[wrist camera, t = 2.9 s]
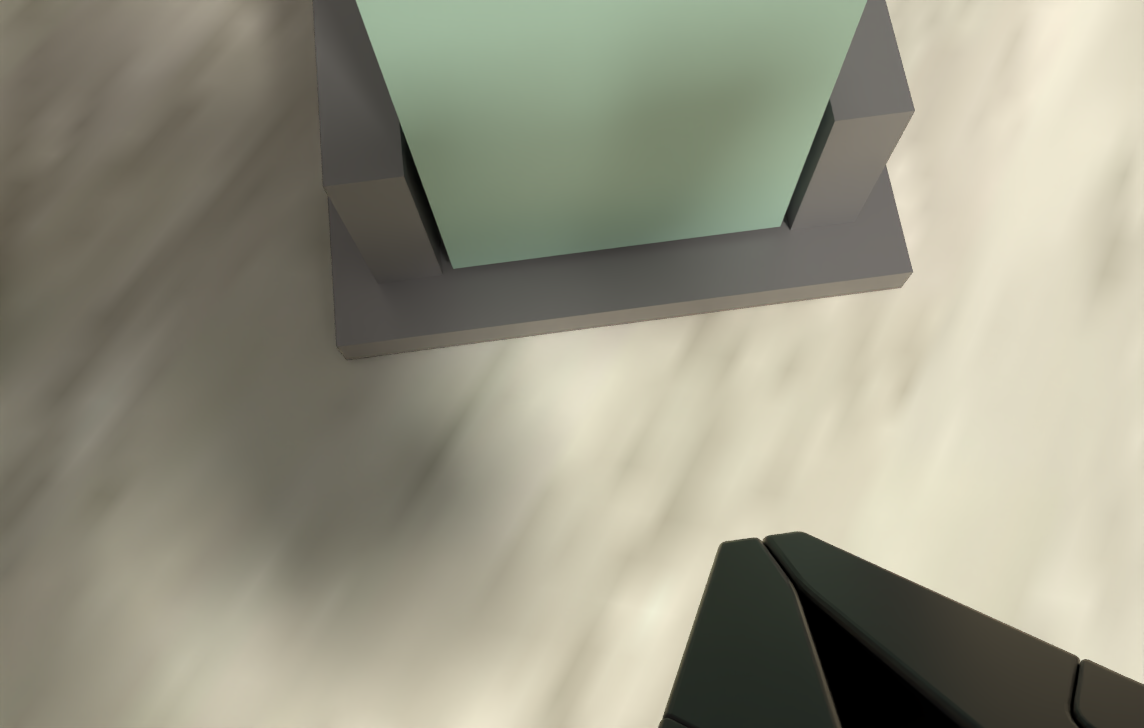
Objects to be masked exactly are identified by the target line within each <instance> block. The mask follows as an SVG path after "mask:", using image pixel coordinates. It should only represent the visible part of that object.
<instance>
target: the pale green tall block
mask: <svg viewBox="0 0 1144 728" xmlns="http://www.w3.org/2000/svg"><path fill="white" fill-rule="evenodd" d="M866 2H867V0H356V3H357V6H358V8H359V11H360V14H361V17H362V19H363V22H364V25H365V28H366V30H367V33H368V36H369V39H370V41H371V44H372V47H373V50H374V52H375V55H376V58H377V61H378V63H379V66H380V69H381V72H382V74H383V77H384V80H385V83H386V85H387V88H388V91H389V94H390V96H391V99H392V102H393V105H394V107H395V110H396V113H397V116H398V118H399V121H400V124H401V127H402V129H403V132H404V135H405V138H406V140H407V143H408V146H409V149H410V151H411V154H412V157H413V160H414V162H415V165H416V168H417V171H418V173H419V176H420V179H421V182H422V184H423V187H424V190H425V193H426V195H427V198H428V201H429V204H430V206H431V209H432V212H433V215H434V217H435V220H436V223H437V226H438V228H439V231H440V234H441V237H442V239H443V242H444V245H445V248H446V250H447V253H448V256H449V259H450V261H451V264H452V267H453V269H456V268H464V267H471V266H479V265H487V264H495V263H502V262H510V261H518V260H525V259H533V258H541V257H549V256H556V255H564V254H572V253H580V252H587V251H595V250H603V249H610V248H618V247H626V246H634V245H641V244H649V243H657V242H665V241H672V240H680V239H688V238H695V237H703V236H711V235H719V234H726V233H734V232H742V231H750V230H757V229H765V228H773V227H780V226H781V223H782V221H783V218H784V215H785V213H786V210H787V208H788V205H789V202H790V200H791V197H792V195H793V192H794V189H795V187H796V184H797V182H798V179H799V176H800V174H801V171H802V169H803V166H804V163H805V161H806V158H807V156H808V153H809V150H810V148H811V145H812V143H813V140H814V137H815V135H816V132H817V130H818V127H819V124H820V122H821V119H822V117H823V114H824V111H825V109H826V106H827V104H828V101H829V99H830V96H831V93H832V91H833V88H834V86H835V83H836V80H837V78H838V75H839V73H840V70H841V67H842V65H843V62H844V60H845V57H846V54H847V52H848V49H849V47H850V44H851V41H852V39H853V36H854V34H855V31H856V28H857V26H858V23H859V21H860V18H861V15H862V13H863V10H864V8H865V5H866Z"/></svg>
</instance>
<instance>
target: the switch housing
mask: <svg viewBox="0 0 1144 728" xmlns="http://www.w3.org/2000/svg"><path fill="white" fill-rule="evenodd" d="M313 13H314V31H315V49H316V66H317V84H318V102H319V120H320V138H321V156H322V174H323V187H324V189H325V191H326V193H327V194H328V206H329V224H330V241H331V259H332V276H333V294H334V311H335V328H336V346H337V348H338V349H339V351H340V352H341V353H342V354H343V356H344V357H345V358H346V359H347V360H349V359H357V358H365V357H372V356H380V355H388V354H396V353H403V352H411V351H419V350H426V349H434V348H442V347H449V346H457V345H465V344H472V343H480V342H488V341H495V340H503V339H511V338H519V337H526V336H534V335H542V334H549V333H557V332H565V331H572V330H580V329H588V328H595V327H603V326H611V325H618V324H626V323H634V322H641V321H649V320H657V319H665V318H672V317H680V316H688V315H695V314H703V313H711V312H718V311H726V310H734V309H741V308H749V307H757V306H764V305H772V304H780V303H787V302H795V301H803V300H811V299H818V298H826V297H834V296H841V295H849V294H857V293H864V292H872V291H880V290H887V289H895V288H901V287H902V286H903V285H904V283H905V282H906V281H907V279H908V278H909V277H910V275H911V274H912V273H913V270H912V266H911V262H910V258H909V255H908V251H907V247H906V243H905V239H904V235H903V231H902V227H901V223H900V219H899V215H898V211H897V207H896V203H895V199H894V195H893V191H892V187H891V183H890V179H889V175H888V171H887V167H886V163H887V161H888V160H889V158H890V156H891V154H892V152H893V150H894V148H895V147H896V145H897V143H898V141H899V139H900V137H901V136H902V134H903V132H904V130H905V128H906V126H907V124H908V123H909V121H910V119H911V117H912V115H913V113H914V112H915V109H914V106H913V102H912V98H911V94H910V91H909V87H908V83H907V79H906V76H905V72H904V68H903V65H902V61H901V57H900V53H899V50H898V46H897V42H896V38H895V35H894V31H893V27H892V23H891V20H890V16H889V12H888V8H887V5H886V1H885V0H867V2H866V5H865V8H864V10H863V13H862V15H861V18H860V21H859V23H858V26H857V28H856V31H855V34H854V36H853V39H852V41H851V44H850V47H849V49H848V52H847V54H846V57H845V60H844V62H843V65H842V67H841V70H840V73H839V75H838V78H837V80H836V83H835V86H834V88H833V91H832V93H831V96H830V99H829V101H828V104H827V106H826V109H825V111H824V114H823V117H822V119H821V122H820V124H819V127H818V130H817V132H816V135H815V137H814V140H813V143H812V145H811V148H810V150H809V153H808V156H807V158H806V161H805V163H804V166H803V169H802V171H801V174H800V176H799V179H798V182H797V184H796V187H795V189H794V192H793V195H792V197H791V200H790V202H789V205H788V208H787V210H786V213H785V215H784V218H783V221H782V223H781V226H780V227H773V228H765V229H757V230H750V231H742V232H734V233H726V234H719V235H711V236H703V237H695V238H688V239H680V240H672V241H665V242H657V243H649V244H641V245H634V246H626V247H618V248H610V249H603V250H595V251H587V252H580V253H572V254H564V255H556V256H549V257H541V258H533V259H525V260H518V261H510V262H502V263H495V264H487V265H479V266H471V267H464V268H456V269H453V267H452V264H451V261H450V259H449V256H448V253H447V250H446V248H445V245H444V242H443V239H442V237H441V234H440V231H439V228H438V226H437V223H436V220H435V217H434V215H433V212H432V209H431V206H430V204H429V201H428V198H427V195H426V193H425V190H424V187H423V184H422V182H421V179H420V176H419V173H418V171H417V168H416V165H415V162H414V160H413V157H412V154H411V151H410V149H409V146H408V143H407V140H406V138H405V135H404V132H403V129H402V127H401V124H400V121H399V118H398V116H397V113H396V110H395V107H394V105H393V102H392V99H391V96H390V94H389V91H388V88H387V85H386V83H385V80H384V77H383V74H382V72H381V69H380V66H379V63H378V61H377V58H376V55H375V52H374V50H373V47H372V44H371V41H370V39H369V36H368V33H367V30H366V28H365V25H364V22H363V19H362V17H361V14H360V11H359V8H358V6H357V3H356V0H313Z"/></svg>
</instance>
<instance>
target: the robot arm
mask: <svg viewBox="0 0 1144 728" xmlns="http://www.w3.org/2000/svg"><path fill="white" fill-rule="evenodd" d="M658 728H1144V684H1142V683H1139V682H1137V681H1135V680H1132V679H1130V678H1128V677H1125V676H1123V675H1121V674H1119V673H1117V672H1114V671H1112V670H1110V669H1108V668H1106V667H1103V666H1101V665H1099V664H1097V663H1095V662H1092V661H1090V660H1087V659H1084V660H1082V661H1081V662H1080V659H1079V658H1078V657H1077V656H1076V655H1073V654H1071V653H1069V652H1067V651H1065V650H1062V649H1060V648H1058V647H1056V646H1054V645H1051V644H1049V643H1047V642H1045V641H1043V640H1040V639H1038V638H1036V637H1034V636H1032V635H1029V634H1027V633H1025V632H1023V631H1021V630H1018V629H1016V628H1014V627H1012V626H1010V625H1007V624H1005V623H1003V622H1001V621H998V620H996V619H994V618H992V617H990V616H987V615H985V614H983V613H981V612H979V611H976V610H974V609H972V608H970V607H968V606H965V605H963V604H961V603H959V602H957V601H954V600H952V599H950V598H948V597H946V596H943V595H941V594H939V593H937V592H935V591H932V590H930V589H928V588H926V587H923V586H921V585H919V584H917V583H915V582H912V581H910V580H908V579H906V578H904V577H901V576H899V575H897V574H895V573H893V572H890V571H888V570H886V569H884V568H882V567H879V566H877V565H875V564H873V563H871V562H868V561H866V560H864V559H862V558H860V557H857V556H855V555H853V554H851V553H849V552H846V551H844V550H842V549H840V548H837V547H835V546H833V545H831V544H829V543H826V542H824V541H822V540H820V539H818V538H815V537H813V536H811V535H809V534H807V533H804V532H798V531H797V532H790V533H783V534H776V535H769V536H767V537H765V538H764V539H763V541H761V540H760V539H758V538H748V539H740V540H733V541H725V542H723V543H721V544H720V546H719V548H718V550H717V553H716V556H715V559H714V563H713V566H712V569H711V572H710V575H709V578H708V581H707V584H706V587H705V590H704V593H703V596H702V599H701V602H700V605H699V608H698V611H697V614H696V617H695V620H694V623H693V626H692V630H691V633H690V636H689V639H688V642H687V645H686V648H685V651H684V654H683V657H682V660H681V663H680V666H679V669H678V672H677V675H676V678H675V681H674V684H673V687H672V690H671V693H670V697H669V700H668V703H667V706H666V709H665V712H664V715H663V719H662V720H661V722H660V724H659V727H658Z"/></svg>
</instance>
